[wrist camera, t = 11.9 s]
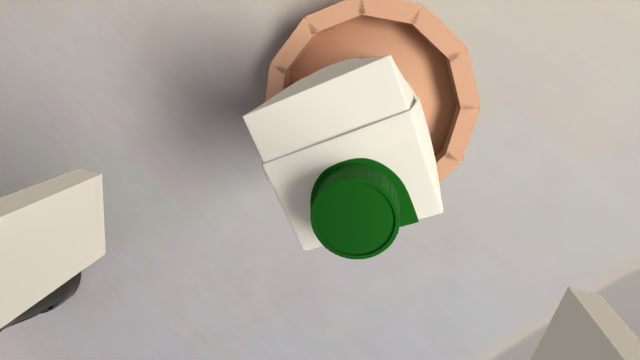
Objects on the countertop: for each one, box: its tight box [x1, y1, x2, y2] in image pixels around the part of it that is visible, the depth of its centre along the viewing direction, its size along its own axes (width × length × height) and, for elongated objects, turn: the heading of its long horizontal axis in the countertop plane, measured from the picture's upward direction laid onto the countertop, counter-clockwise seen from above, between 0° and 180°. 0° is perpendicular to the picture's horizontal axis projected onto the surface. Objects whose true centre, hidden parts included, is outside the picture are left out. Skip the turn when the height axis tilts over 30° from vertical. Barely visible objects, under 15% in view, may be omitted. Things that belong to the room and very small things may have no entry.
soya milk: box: [243, 55, 443, 259], centre depth 25 cm, size 9×9×20 cm
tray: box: [265, 0, 480, 182], centre depth 33 cm, size 19×19×3 cm
